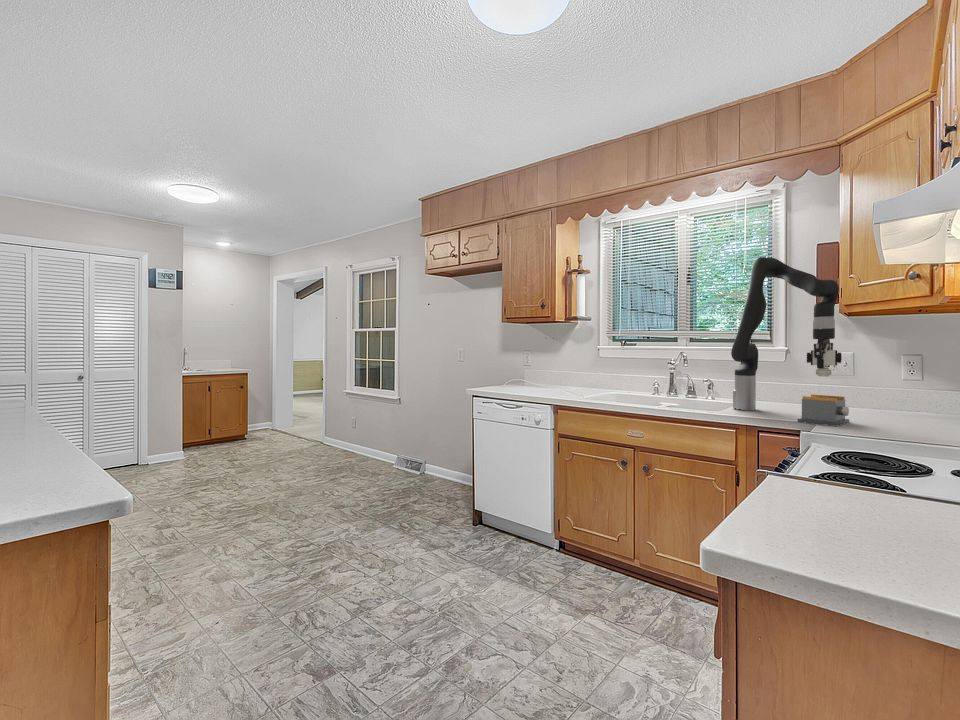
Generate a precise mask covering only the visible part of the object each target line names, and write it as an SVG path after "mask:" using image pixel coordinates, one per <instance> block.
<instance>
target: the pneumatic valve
mask: <svg viewBox="0 0 960 720" xmlns="http://www.w3.org/2000/svg"><path fill="white" fill-rule="evenodd" d="M823 351H824V350H822V352H823ZM818 355H820V354H818ZM806 363H807V364H810V366H817V359H816V358H815V357H814V349H811V350H810V352H806ZM838 364H842V352H838V350H837V349H833V350H826V354H825V355H824V368H817V369H815V375H817V377H827V378H828V377H830V376H832V369H830V367H828V365H830V366H838ZM825 366H826V367H825Z"/></svg>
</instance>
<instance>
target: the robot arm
mask: <svg viewBox="0 0 960 720" xmlns="http://www.w3.org/2000/svg"><path fill="white" fill-rule="evenodd" d="M766 278H775V279H777V278H778V279H781V280H784V281H786V282H787V284H789V285H791V286H793V287H795V288H797V289H800V290H803V291H804V292H806V293H807V294H808V295H811V296H813V297H819V298H820V297H821V299H820V302H817V303H815V304H814V306H813V318H812V319H813V320H812V339H813V340H817V342H816V343H813V350H814V357H815V358H816V359H817V365H816V368H817V369H818V368H824V355H825V354H826V350H834V342H831V340H835V338H836V320H835V307H836V304H837V300H838V296H839V294H840V287H839V284H838V282H837V281H835V280H833V279H819V278H817V276H815V275H814V274H811V273H808V272H805V271H803V270H800V269H796V268H793V267H792V266H789V265H787V264H786V263H784V262H783V261H781V260H779V259H777V258H775V257H766V256H765V257H764V256H759V257H757V258H756V259H755V260H754V261H753V264H752V265H751V271H750V277H749V279H750V280H749V285H748V291H747V295H746V299H745V303H744V306H743V310H742V315H741V319H740V323H739V326H738V330H737V333H736V336H735V338H734V342H733V345H732V347H731V353H730V355H731V358H732V359H733V360H734V361H735V362H738V363H739V362H740V364H739V366H738V367H737V368H735V370H734V389H733V390H732V409H733V408H736V409H735V410H738V409H741V410H740V411H755V410H754V409H756V410H757V408H756V406H757V402H756V401H757V400H756V398H757V397H756V396H757V393H756V392H757V388H756V387H757V386H756V385H757V384H756V383H757V382H756V378H757V376H756V374H757V370H758V367H759V349H758V346H756V345H755V344H754V343H751V339H752V336H753V335H754V332H755V331H756V329H757V328H758V327H759V326H760V325H761V323H762V322H763V320H764V317H765V313H766V309H767V301H766V300H767V299H766V297H765V294H764V283H765V279H766ZM822 350H824V351H823V352H822ZM818 354H820V355H818ZM830 366H831V365H828V367H826V366H825V368H830Z"/></svg>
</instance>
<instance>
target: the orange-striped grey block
mask: <svg viewBox="0 0 960 720" xmlns="http://www.w3.org/2000/svg"><path fill="white" fill-rule="evenodd" d="M849 413H850V408H849V406H846V398H845V396H839V395H828V394H827V395H826V394H825V395H824V394H810V396H809V395H807V396H806V395H802V399H801V417H800V418H798V419H797V422H798V423H803V422H806V423H805V424H812V423H813V424H815V425H821V424H828V425H827V426H830V425H839V426H841V425H840V424H842V425H845V424H848V423H850V418H846V417H848V416H849ZM844 423H845V424H844Z"/></svg>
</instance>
